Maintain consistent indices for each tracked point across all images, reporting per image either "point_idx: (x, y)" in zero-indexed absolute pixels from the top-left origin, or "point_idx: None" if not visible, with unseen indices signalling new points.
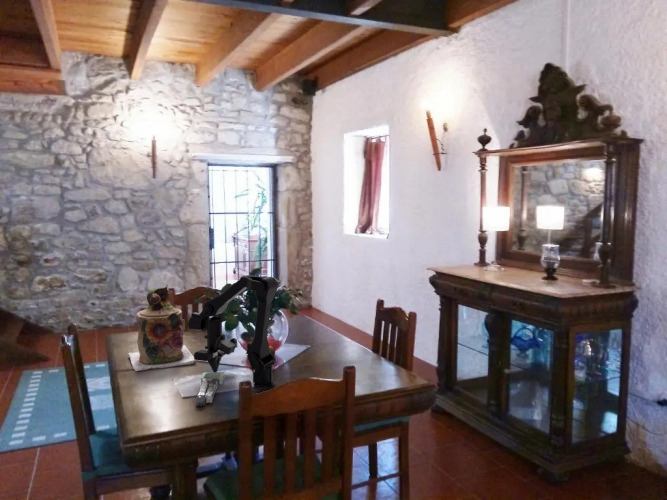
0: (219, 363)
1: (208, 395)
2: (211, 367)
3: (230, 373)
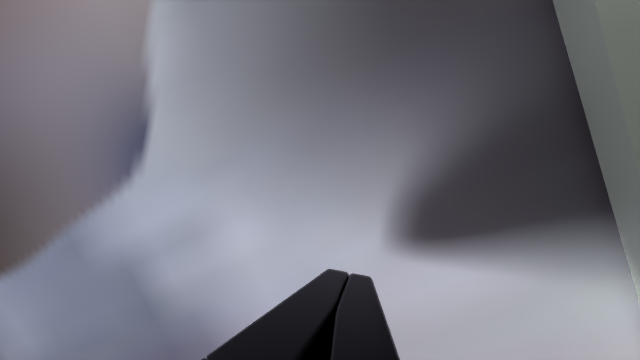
0: (216, 353)
1: None
2: None
3: (168, 45)
